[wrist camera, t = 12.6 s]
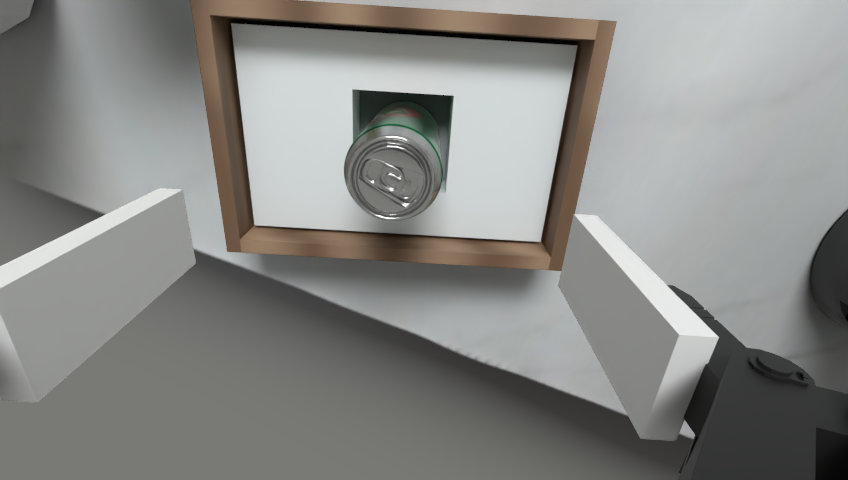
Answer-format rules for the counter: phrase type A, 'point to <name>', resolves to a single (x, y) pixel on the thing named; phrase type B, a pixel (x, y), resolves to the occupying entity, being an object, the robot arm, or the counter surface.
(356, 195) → the soda can
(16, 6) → the jar
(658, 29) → the counter surface
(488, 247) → the open box
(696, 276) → the counter surface
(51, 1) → the counter surface
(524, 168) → the socket plate
